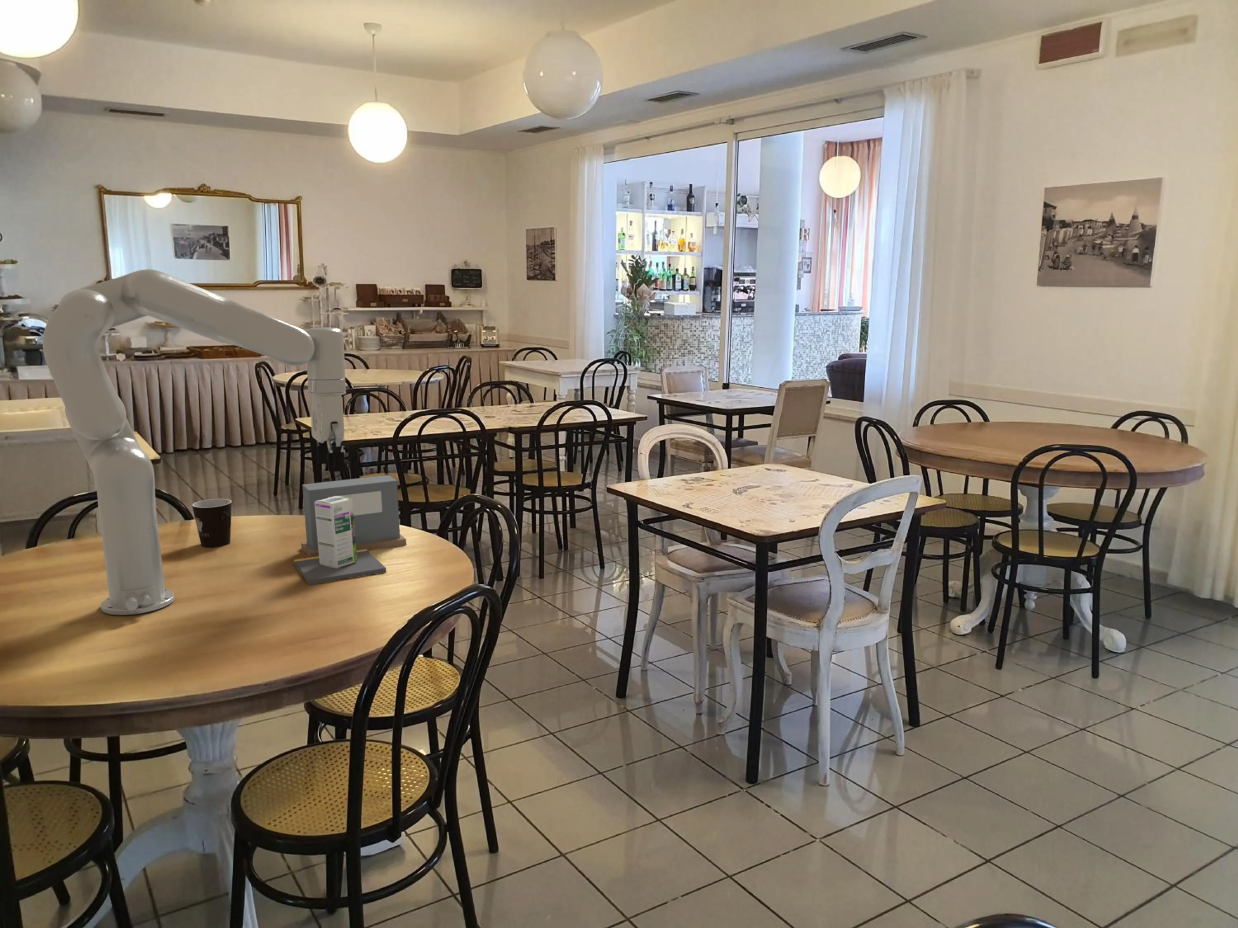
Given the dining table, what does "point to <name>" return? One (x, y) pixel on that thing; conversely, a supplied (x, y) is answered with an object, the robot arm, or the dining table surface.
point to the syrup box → (335, 531)
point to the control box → (358, 511)
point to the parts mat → (322, 574)
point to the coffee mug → (213, 522)
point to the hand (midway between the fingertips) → (330, 467)
